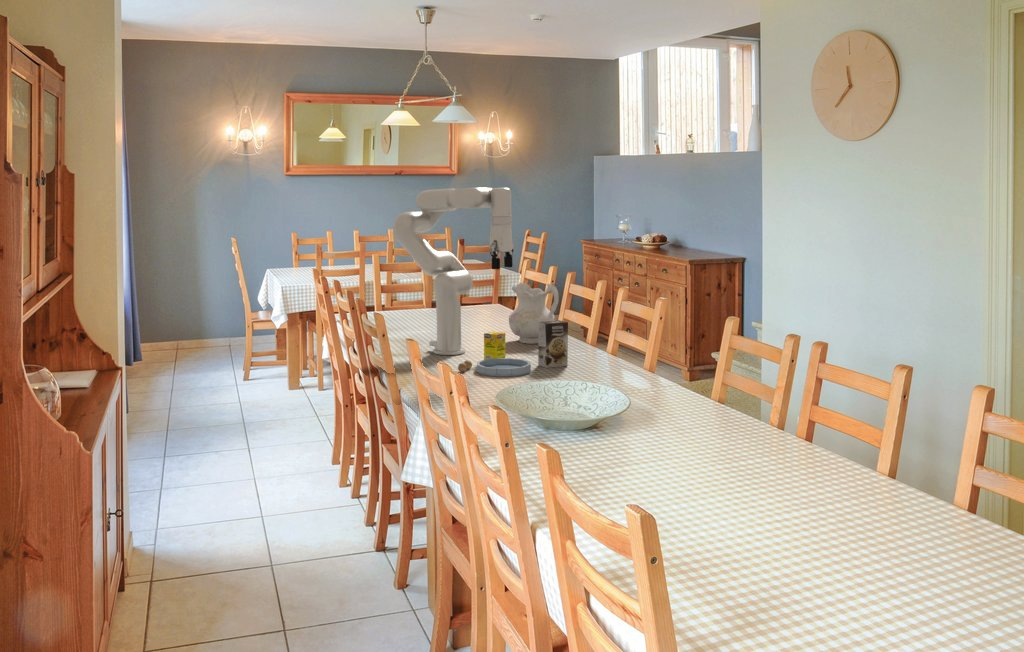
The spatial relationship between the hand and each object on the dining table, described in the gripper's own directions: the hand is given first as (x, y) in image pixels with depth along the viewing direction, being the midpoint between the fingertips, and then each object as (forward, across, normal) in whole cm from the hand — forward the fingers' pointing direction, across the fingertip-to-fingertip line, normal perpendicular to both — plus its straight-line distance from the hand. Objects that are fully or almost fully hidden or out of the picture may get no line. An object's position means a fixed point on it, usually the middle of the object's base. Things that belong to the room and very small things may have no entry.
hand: (502, 268), depth 337 cm
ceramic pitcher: (+34, -39, -6) cm, 52 cm away
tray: (+34, +20, +10) cm, 41 cm away
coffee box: (+35, +3, +22) cm, 41 cm away
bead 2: (+34, +23, -3) cm, 41 cm away
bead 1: (+34, +28, -2) cm, 44 cm away
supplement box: (+34, +7, 0) cm, 35 cm away
